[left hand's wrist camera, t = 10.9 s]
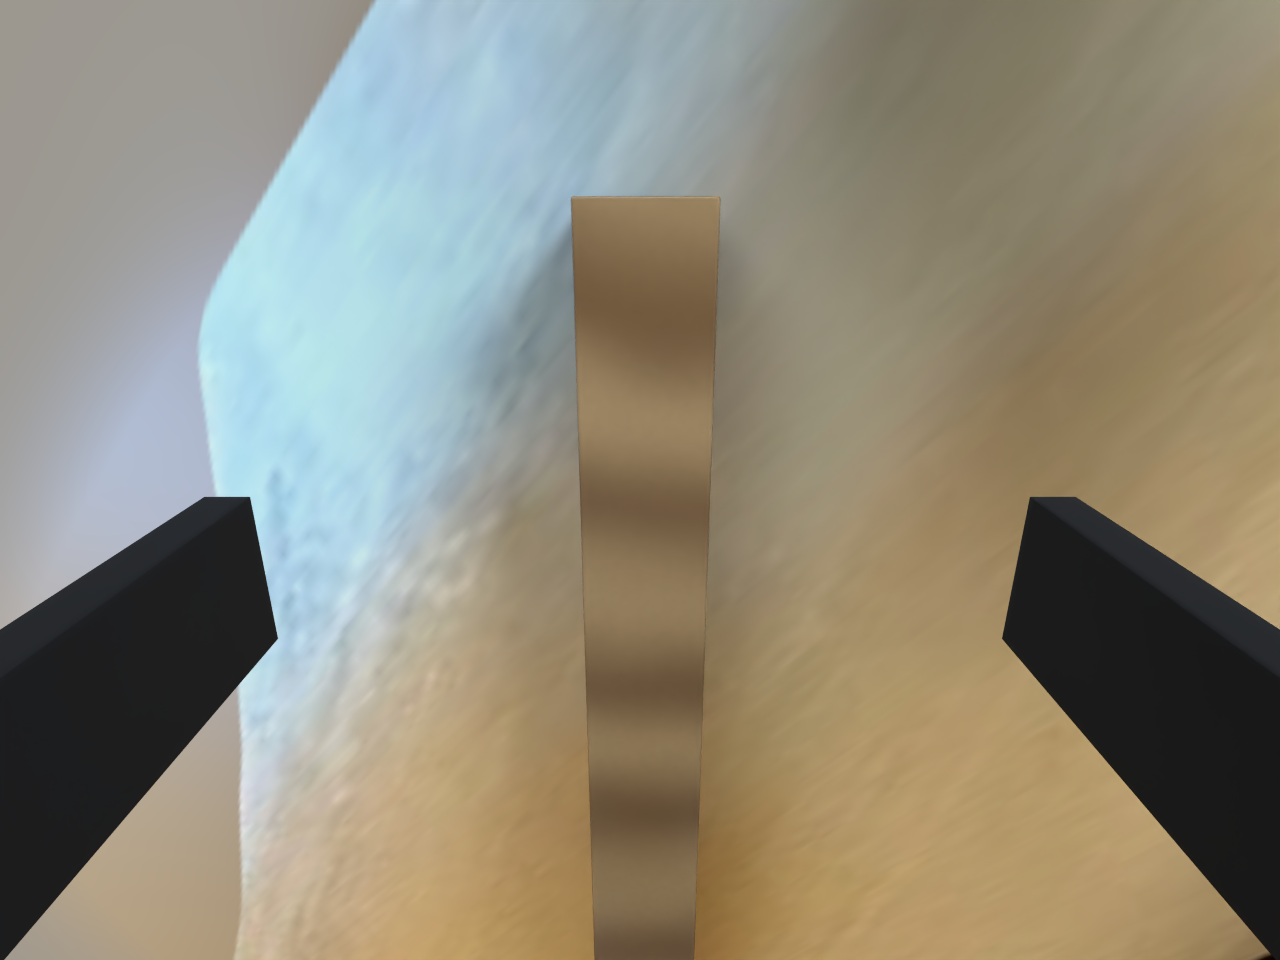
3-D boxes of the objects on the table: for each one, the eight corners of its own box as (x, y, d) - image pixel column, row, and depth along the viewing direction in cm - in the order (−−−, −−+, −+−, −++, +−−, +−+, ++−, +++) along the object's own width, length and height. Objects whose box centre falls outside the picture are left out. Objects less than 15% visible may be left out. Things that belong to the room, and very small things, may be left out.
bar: (585, 199, 31) (570, 196, 24) (702, 199, 31) (720, 196, 24) (610, 1193, 55) (606, 1330, 48) (676, 1193, 55) (681, 1330, 48)
